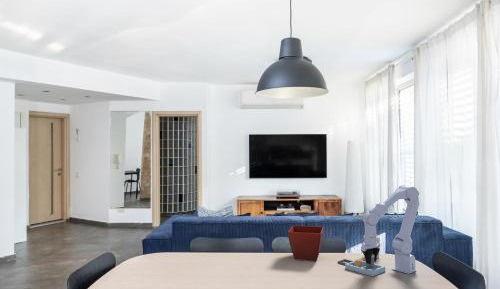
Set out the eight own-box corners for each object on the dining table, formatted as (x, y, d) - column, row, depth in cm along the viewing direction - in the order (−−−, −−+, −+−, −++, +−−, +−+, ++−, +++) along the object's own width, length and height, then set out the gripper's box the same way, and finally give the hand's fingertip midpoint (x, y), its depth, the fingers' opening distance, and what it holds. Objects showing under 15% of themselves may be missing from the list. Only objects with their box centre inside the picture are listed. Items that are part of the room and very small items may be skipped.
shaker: (369, 264, 183) (369, 252, 183) (375, 267, 180) (376, 254, 180) (364, 266, 181) (364, 253, 181) (370, 268, 178) (371, 256, 178)
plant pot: (287, 261, 200) (287, 231, 201) (293, 252, 218) (292, 225, 219) (321, 263, 195) (320, 233, 195) (324, 254, 213) (323, 226, 213)
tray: (385, 271, 180) (385, 266, 180) (372, 276, 173) (372, 271, 173) (358, 264, 193) (358, 259, 193) (345, 268, 185) (345, 264, 185)
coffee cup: (382, 258, 203) (382, 238, 203) (366, 258, 203) (366, 238, 203) (377, 254, 212) (376, 234, 212) (361, 254, 212) (361, 234, 212)
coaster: (355, 263, 194) (355, 261, 194) (347, 265, 190) (347, 264, 190) (344, 260, 200) (344, 258, 200) (337, 263, 195) (337, 261, 195)
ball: (357, 266, 189) (357, 257, 189) (364, 268, 185) (364, 259, 186) (352, 267, 186) (352, 258, 186) (359, 269, 183) (359, 260, 183)
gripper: (371, 233, 188) (372, 258, 188) (355, 237, 179) (356, 263, 179) (383, 235, 183) (384, 261, 182) (367, 239, 174) (368, 267, 173)
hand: (371, 262), depth 180 cm, fingers closed on shaker, 4 cm apart
